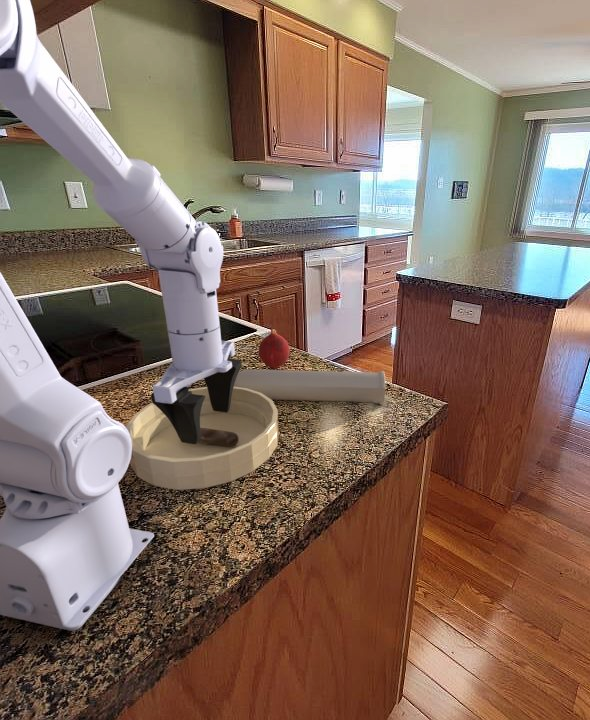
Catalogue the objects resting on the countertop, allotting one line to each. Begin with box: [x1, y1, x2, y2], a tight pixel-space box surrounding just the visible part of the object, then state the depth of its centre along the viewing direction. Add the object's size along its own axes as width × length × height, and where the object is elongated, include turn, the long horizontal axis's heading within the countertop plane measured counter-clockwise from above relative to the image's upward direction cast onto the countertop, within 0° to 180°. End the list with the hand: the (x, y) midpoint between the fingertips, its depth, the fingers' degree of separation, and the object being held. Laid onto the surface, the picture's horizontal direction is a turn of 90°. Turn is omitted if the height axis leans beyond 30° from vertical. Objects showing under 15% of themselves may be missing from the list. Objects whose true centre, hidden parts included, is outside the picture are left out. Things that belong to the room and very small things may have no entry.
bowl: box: [125, 386, 280, 491], centre depth 52 cm, size 18×18×4 cm
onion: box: [258, 328, 291, 370], centre depth 76 cm, size 6×6×8 cm
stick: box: [178, 427, 239, 447], centre depth 53 cm, size 8×2×2 cm, turn 81°
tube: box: [234, 368, 386, 406], centre depth 66 cm, size 5×5×25 cm
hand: (206, 425), depth 52 cm, fingers open, 7 cm apart
